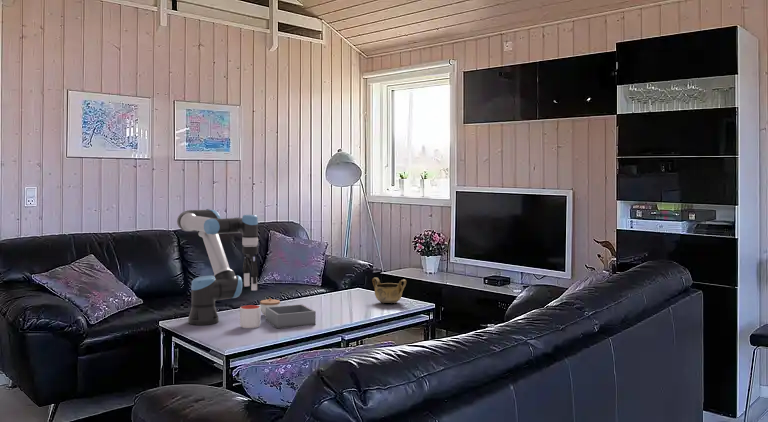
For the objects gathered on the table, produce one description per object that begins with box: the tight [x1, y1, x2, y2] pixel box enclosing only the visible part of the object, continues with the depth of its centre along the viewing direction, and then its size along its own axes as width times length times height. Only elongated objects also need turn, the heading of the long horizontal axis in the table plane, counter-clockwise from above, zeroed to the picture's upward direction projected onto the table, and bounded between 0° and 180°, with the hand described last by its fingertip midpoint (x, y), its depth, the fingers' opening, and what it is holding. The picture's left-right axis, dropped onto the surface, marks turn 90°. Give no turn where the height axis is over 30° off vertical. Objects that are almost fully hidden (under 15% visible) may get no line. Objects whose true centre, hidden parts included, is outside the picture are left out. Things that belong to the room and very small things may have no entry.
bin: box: [265, 303, 317, 330], centre depth 338 cm, size 20×20×7 cm
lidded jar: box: [259, 297, 281, 317], centre depth 355 cm, size 11×11×9 cm
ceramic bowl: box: [371, 277, 407, 304], centre depth 391 cm, size 22×17×15 cm
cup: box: [239, 304, 261, 330], centre depth 328 cm, size 10×10×10 cm
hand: (250, 288), depth 327 cm, fingers open, 13 cm apart
